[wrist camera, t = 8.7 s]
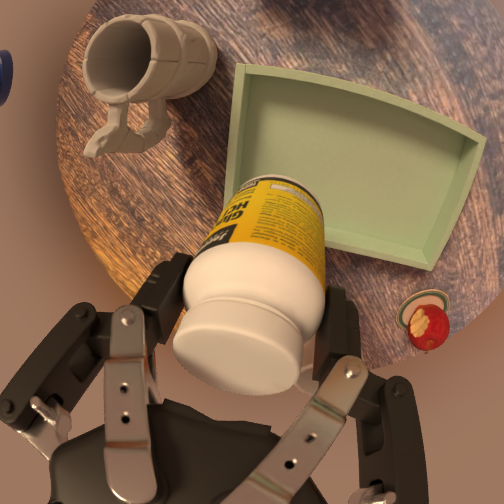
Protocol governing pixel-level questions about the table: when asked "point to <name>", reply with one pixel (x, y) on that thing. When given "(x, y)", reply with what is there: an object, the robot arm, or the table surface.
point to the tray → (355, 159)
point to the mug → (143, 75)
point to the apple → (425, 318)
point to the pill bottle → (255, 289)
